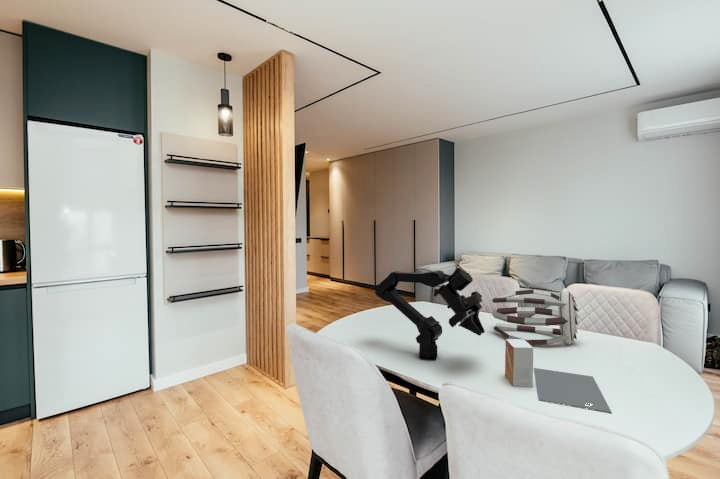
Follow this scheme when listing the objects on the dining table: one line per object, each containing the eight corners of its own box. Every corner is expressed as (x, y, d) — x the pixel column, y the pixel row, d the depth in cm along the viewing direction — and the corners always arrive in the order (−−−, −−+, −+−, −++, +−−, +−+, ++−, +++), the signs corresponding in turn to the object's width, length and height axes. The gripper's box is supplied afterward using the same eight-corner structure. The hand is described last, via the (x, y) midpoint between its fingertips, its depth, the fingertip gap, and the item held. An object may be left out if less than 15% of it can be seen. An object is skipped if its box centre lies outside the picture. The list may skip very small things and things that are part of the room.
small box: (504, 375, 120) (505, 338, 119) (523, 376, 119) (524, 338, 119) (512, 386, 112) (513, 347, 111) (533, 387, 111) (534, 347, 110)
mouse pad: (538, 400, 103) (538, 399, 103) (533, 368, 125) (533, 367, 125) (611, 413, 96) (611, 412, 96) (592, 377, 118) (592, 376, 118)
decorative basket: (578, 355, 135) (486, 343, 156) (583, 337, 157) (502, 329, 178) (574, 293, 135) (483, 289, 156) (580, 284, 157) (499, 282, 178)
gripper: (457, 289, 118) (490, 327, 111) (477, 281, 132) (507, 314, 126) (436, 308, 123) (466, 346, 117) (457, 299, 137) (485, 331, 131)
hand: (482, 333), depth 122 cm, fingers open, 3 cm apart
